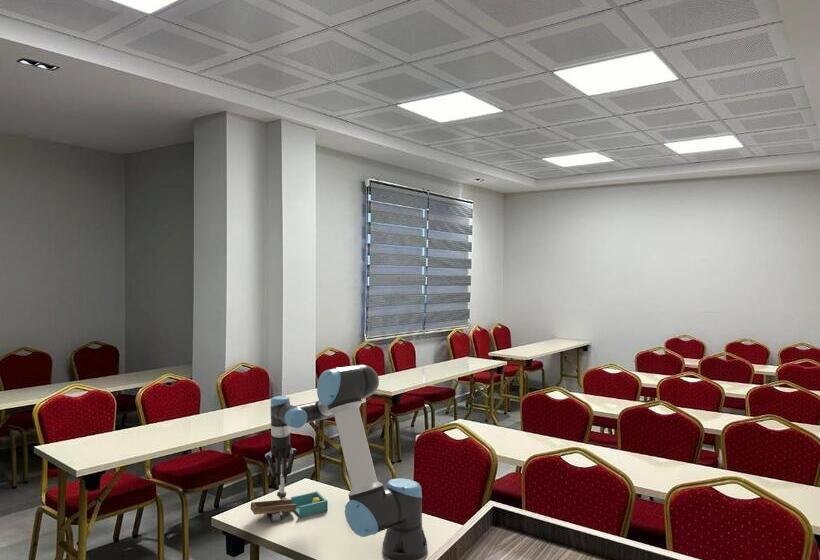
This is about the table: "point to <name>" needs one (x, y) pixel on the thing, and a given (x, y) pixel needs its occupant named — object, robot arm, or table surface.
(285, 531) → the table surface
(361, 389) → the robot arm
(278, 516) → the stand
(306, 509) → the tray
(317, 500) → the ball
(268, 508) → the lever
